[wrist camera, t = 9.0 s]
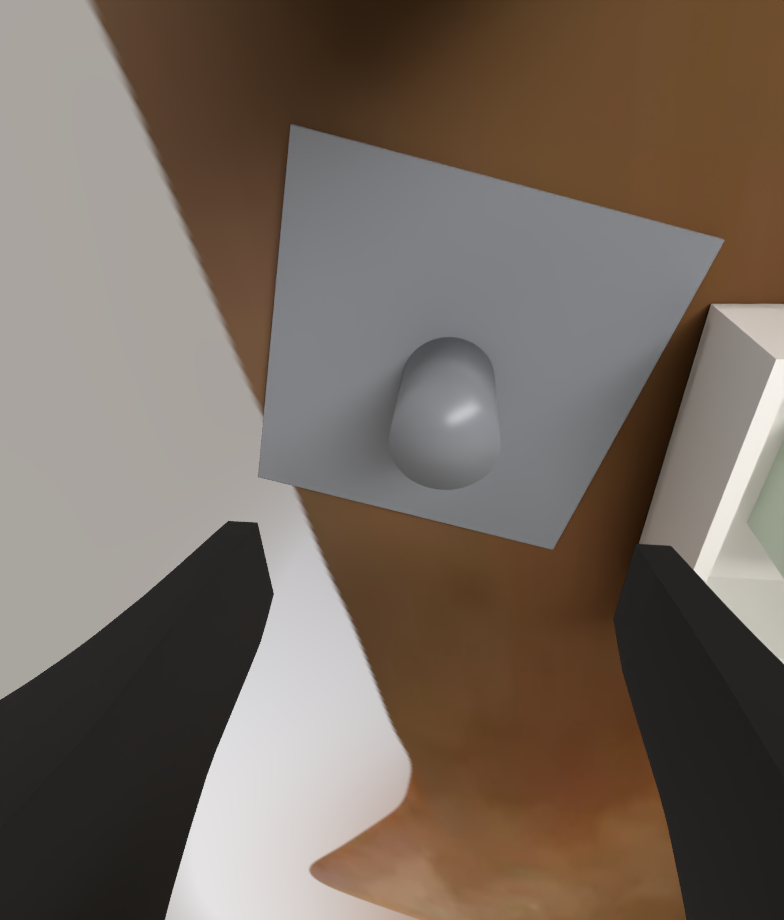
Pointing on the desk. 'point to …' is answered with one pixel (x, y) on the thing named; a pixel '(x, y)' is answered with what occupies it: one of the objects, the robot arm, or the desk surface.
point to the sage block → (771, 513)
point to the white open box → (727, 464)
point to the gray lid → (459, 336)
